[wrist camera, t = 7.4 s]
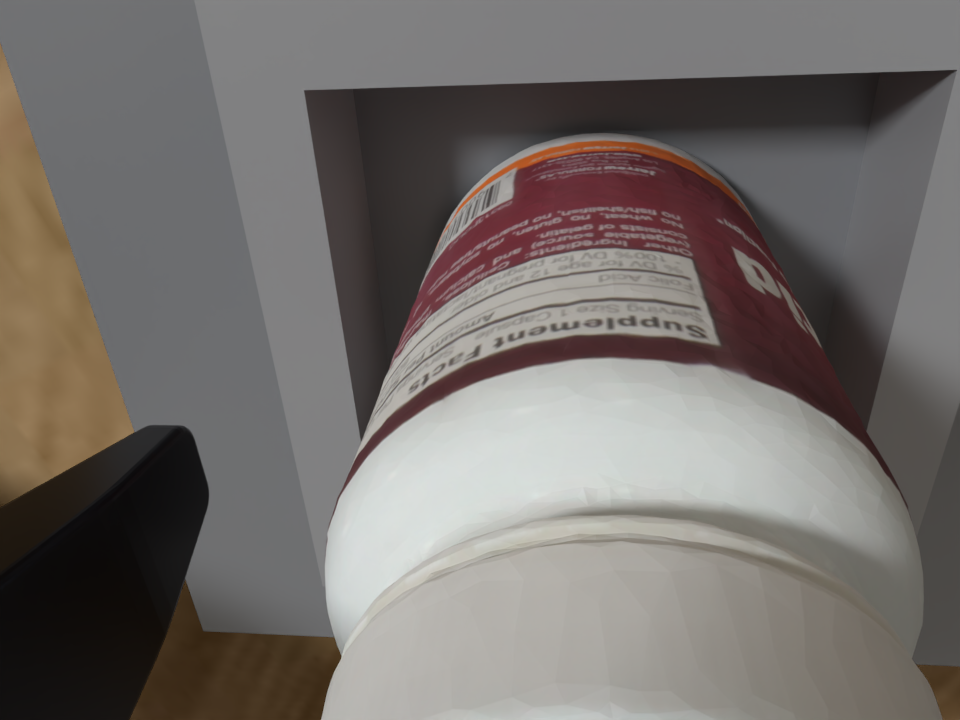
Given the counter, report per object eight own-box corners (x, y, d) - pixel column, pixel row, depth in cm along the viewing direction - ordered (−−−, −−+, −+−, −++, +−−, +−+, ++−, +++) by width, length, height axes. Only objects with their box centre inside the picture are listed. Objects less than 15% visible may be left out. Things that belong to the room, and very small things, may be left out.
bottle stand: (217, 601, 17) (161, 718, 15) (-100, -385, 9) (-341, -478, 7) (1002, 634, 16) (1079, 772, 13) (1515, -555, 7) (1980, -762, 5)
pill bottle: (783, 386, 12) (1079, 1117, 5) (486, 442, 13) (386, 1101, 6) (740, 75, 10) (1170, 610, 3) (386, 174, 11) (46, 732, 4)
